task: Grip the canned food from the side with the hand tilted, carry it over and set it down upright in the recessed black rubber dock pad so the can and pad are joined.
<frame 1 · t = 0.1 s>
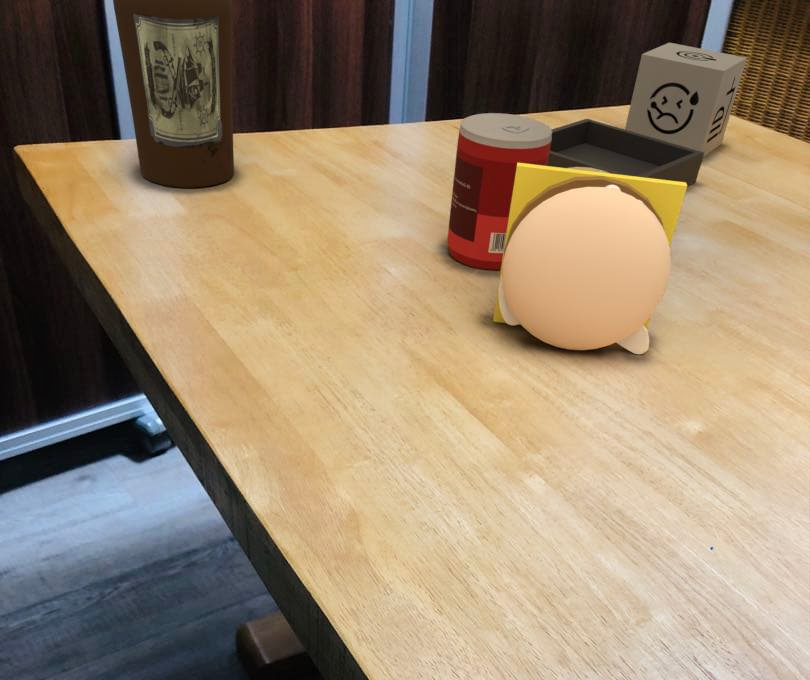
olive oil: (187, 175, 89), on the table
hamburger: (567, 340, 68), on the table
canned food: (488, 255, 79), on the table
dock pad: (603, 177, 98), on the table
icon cube: (671, 144, 111), on the table
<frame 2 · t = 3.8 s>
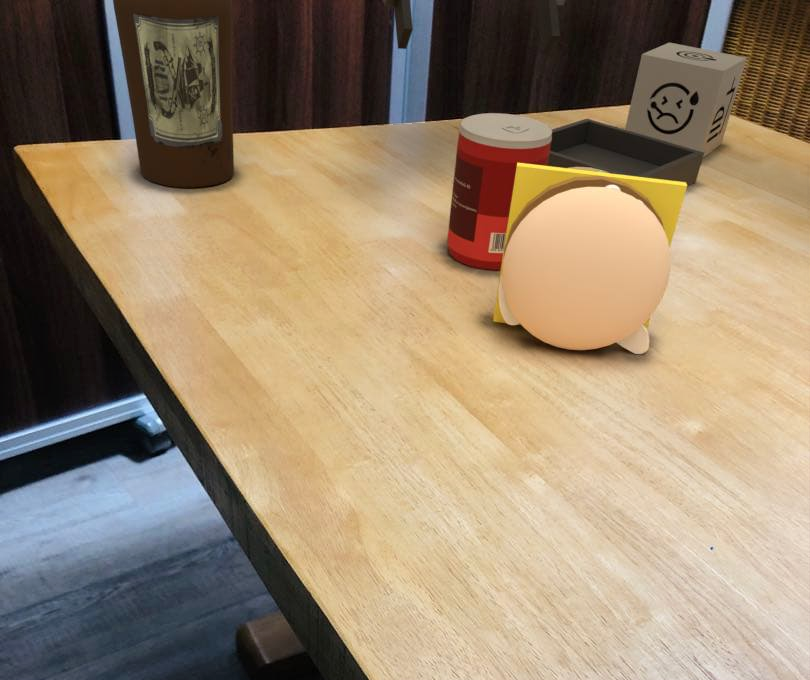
hand: (479, 42, 77), 15 cm above the table, tool tilted 45°, fingers open, 13 cm apart
nothing on the table moved.
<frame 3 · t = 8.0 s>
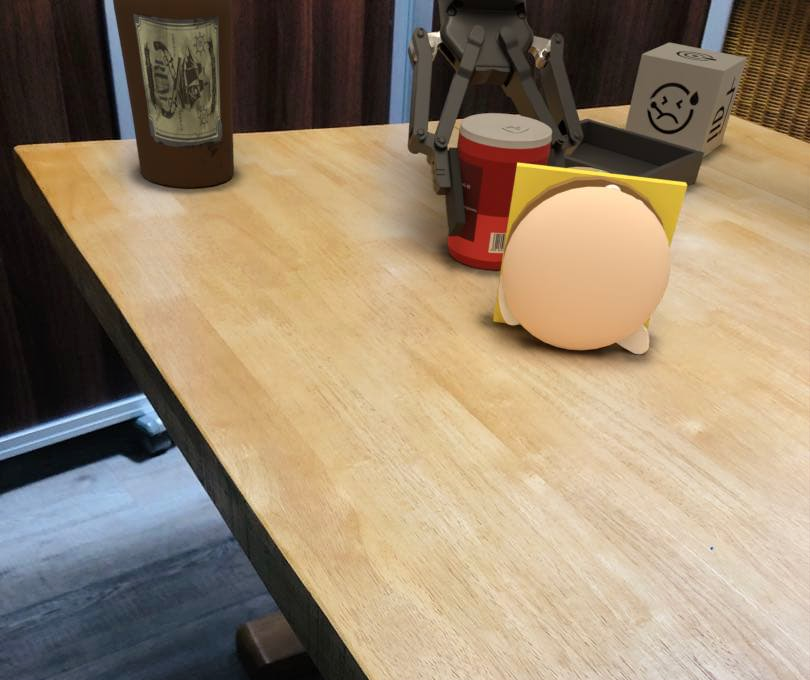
hand: (505, 229, 74), 4 cm above the table, tool tilted 45°, fingers closed on canned food, 8 cm apart
canned food: (488, 255, 79), on the table, touching gripper
everything else where it was.
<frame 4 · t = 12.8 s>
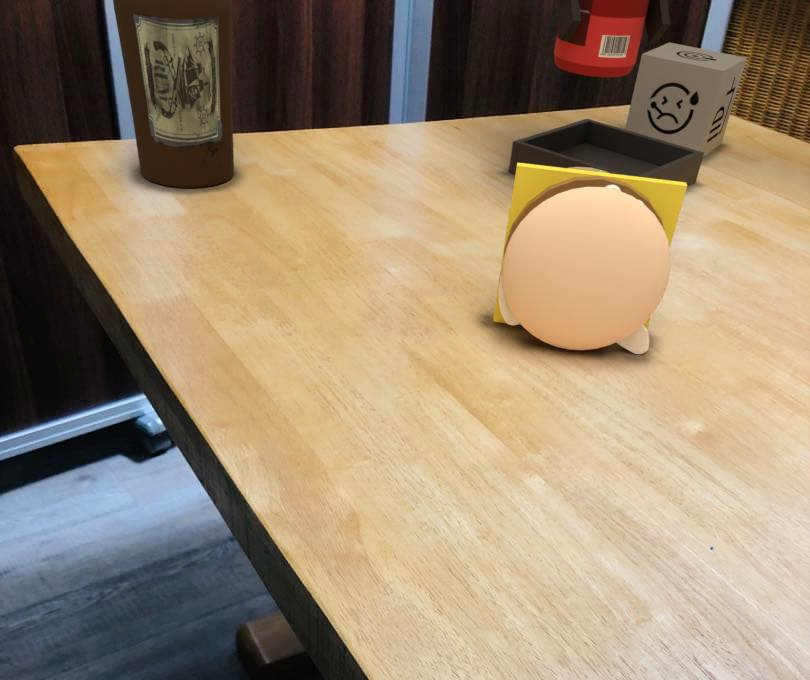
hand: (615, 32, 78), 17 cm above the table, tool tilted 45°, fingers closed on canned food, 8 cm apart
canned food: (592, 70, 83), point 13 cm above the table, touching gripper
everything else where it was.
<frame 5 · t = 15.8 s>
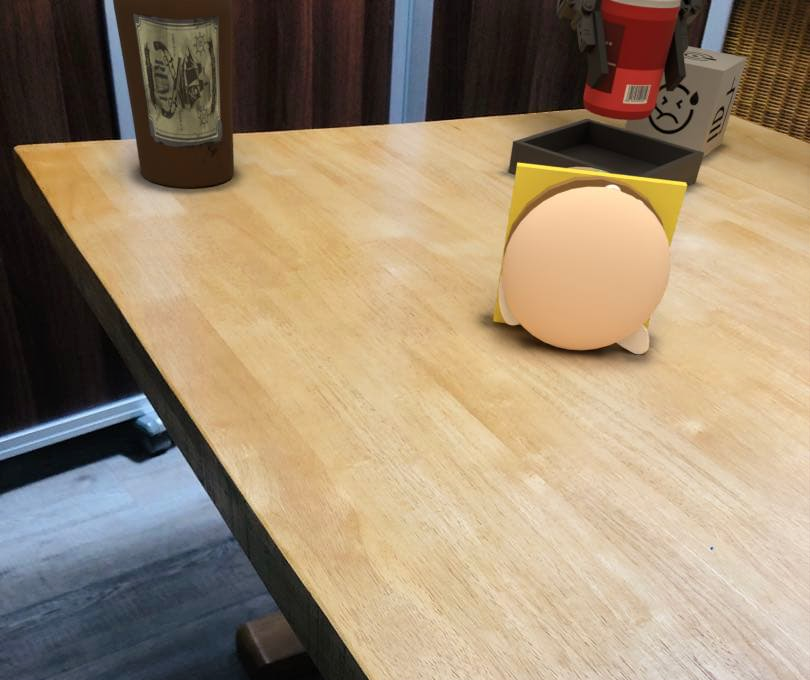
hand: (638, 82, 89), 11 cm above the table, tool tilted 45°, fingers closed on canned food, 8 cm apart
canned food: (616, 112, 94), point 7 cm above the table, touching gripper
everything else where it was.
when the fingers open (4 cm above the table, at t = 18.0 s): canned food stays where it is, resting on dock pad.
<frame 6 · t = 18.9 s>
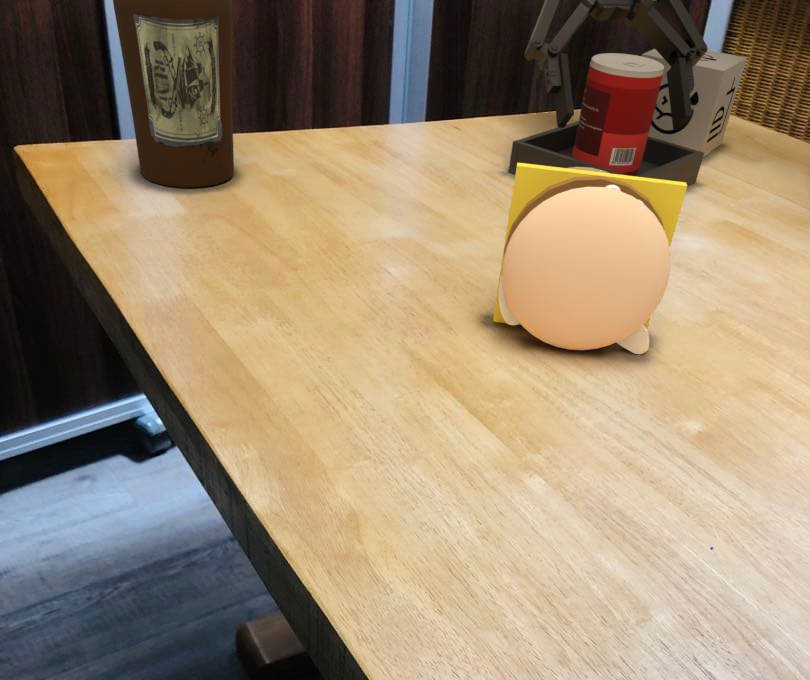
hand: (625, 122, 92), 6 cm above the table, tool tilted 45°, fingers open, 13 cm apart
canned food: (603, 171, 98), point 1 cm above the table, touching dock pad
everything else where it was.
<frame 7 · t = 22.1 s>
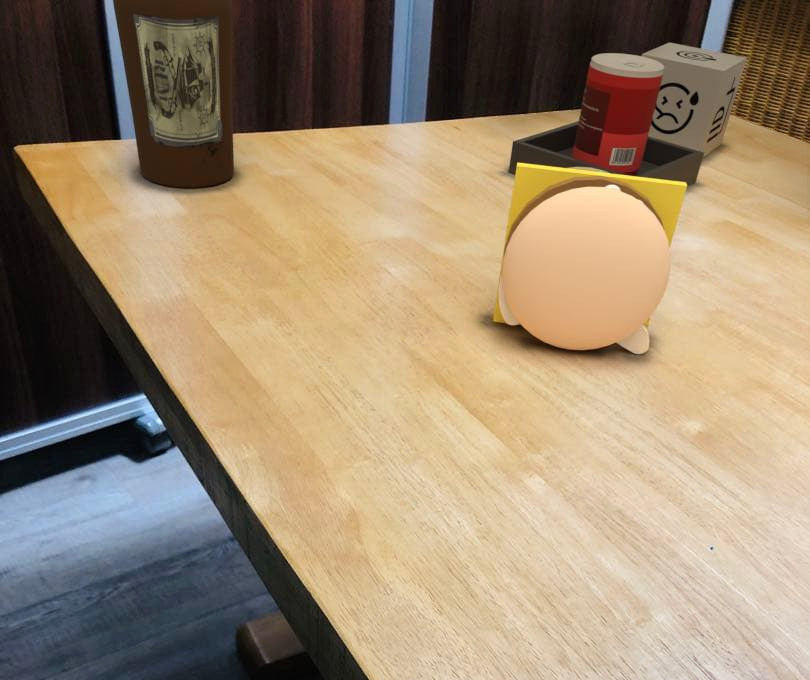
nothing on the table moved.
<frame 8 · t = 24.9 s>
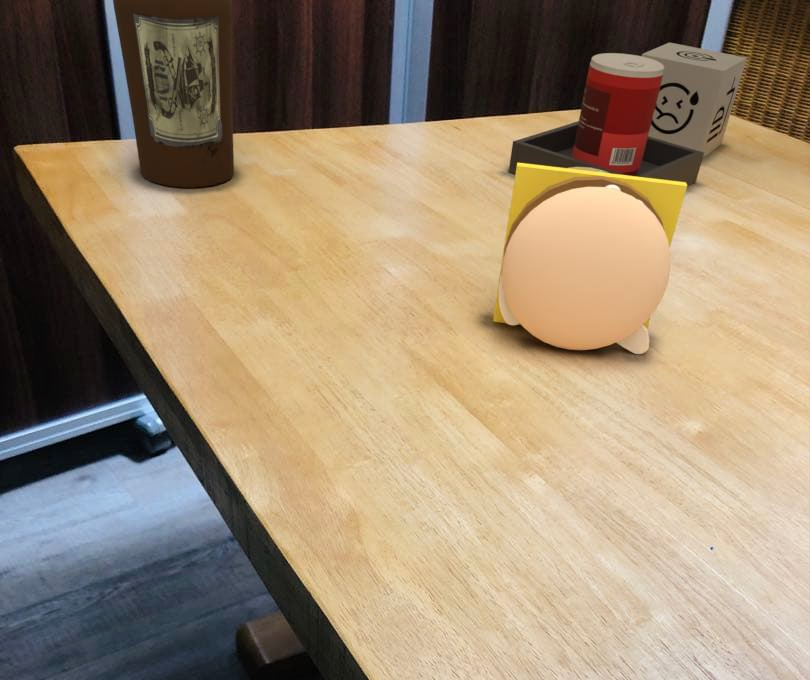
nothing on the table moved.
at the end: canned food inside the target area in the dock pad (0.1 cm from its centre), point 0.6 cm above the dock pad's base; canned food tilted 0°; the gripper is holding nothing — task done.
